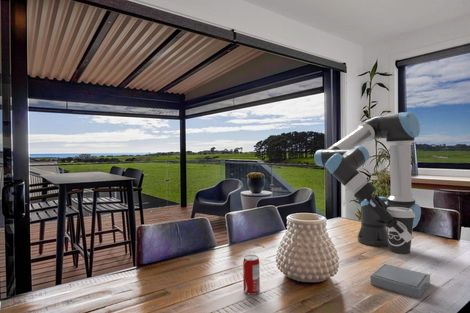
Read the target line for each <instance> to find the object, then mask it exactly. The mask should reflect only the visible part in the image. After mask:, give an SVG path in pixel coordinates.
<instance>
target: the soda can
mask: <svg viewBox="0 0 470 313" xmlns="http://www.w3.org/2000/svg"><path fill="white" fill-rule="evenodd" d="M259 259H260V258H259V256H258V255H256V254H246V255H244V257H243V262H242V265H243V266H242V268H243V269H242V273H243V274H242V275H243V276H242V277H243V278H242V279H243V292H244V291H245V292H246V293H249V294H254V295H256V294H255V293H257V294H258V293H259V292H260V290H261V285H260V284H261V282H260V279H261V278H260V273H261V272H260V260H259ZM245 292H244V293H245ZM246 293H245V294H246ZM249 294H248V295H249Z"/></svg>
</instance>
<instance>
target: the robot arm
mask: <svg viewBox="0 0 470 313" xmlns="http://www.w3.org/2000/svg"><path fill="white" fill-rule="evenodd" d="M420 127H421V126H420V122H419V119H418V118H417V116H416V114H414V112H410V111H409V112H408V111H407V112H396V113H389V114H388V113H387V114H386V113H385V114H379V115H375V116H372V117H371V118H369V119H367V120H364V121H363V122H362V123H360V124H359V125H358V126H356V129H355V130H353V131H352V132H350V133H348V135H346V136H344V137H343V138H341V139H340V140H338V141H337V142H335V143H334V144H332V145H331V146H329V147H328V148H326V149H324V148H322V149H318V150H316V151H315V153H314V154H313V159H314V163H315V164H316V165H317V167H318V166H319V167H324V168H326V170H328V172H329V173H330V174H331V176H333V177H334V178H335V179H336V180H337V181H338V182H340V183H341V184H342V186H344V188H345V191H349V192H350V193H351V194H353V196H354V198H355V199H356V200H358V201H359V202H360V216H361V217H360V223H361V224H360V229H359V231H358V234H357V241H358V242H359V243H361V244H363V245H367V246H371V247H386V246H389V245H388V234H387V225H388V228H391V227H392V228H393V229H394V230H395V231H396V232H397V233H398V234H399V235H400V236H401V237H402V238H403V239H404V240H405V241H406V242H409V241H410V240H411V241H412V239H414V235H413V234H412V235H411V234H410V233H409V232H408V231H407V230H406V229H405V228H404V227H403V226H402V225H401V224H400V223H399V222H397V221H396V220H395V219H394V218H393V217H392V216H391V215H390V214H389V213H388V211H387V210H386V209H387V208H388V207H403V208H409V209H412V210H413V213H414V214H415V217H414V219H413V228H412V232H413V231H414V230H413V229H414V228H415V227H417V226H418V224H419V221H420V219H421V215H422V209H421V205H420V204H418V203H416V199H415V198H414V197H413V195H412V151H411V150H412V148H411V146H412V144H413V143H414V142H415V138H417V137H419V135H420V132H421V128H420ZM376 139H386V142H385V143H387V144H388V145H389V157H390V158H389V159H390V160H389V161H390V165H389V167H390V171H389V172H390V176H389V177H390V195H389V196H388V197H386V196H378V195H377V194H375V195H374V193H375V191H376V190H377V188H376V186H374V185H373V183H371V182H369V181H368V179H367V178H366V177H365V176H364V175H363V174H362V173H361V172H359V171H358V169H359V168H361V167H362V166H363V165H365V164H366V162H367V161H368V160H369V159H370V153H369V150H368V149H367V148H366V147H365V146H364V144H365V143H369V142H371V141H373V140H376Z"/></svg>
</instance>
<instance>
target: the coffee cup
mask: <svg viewBox="0 0 470 313" xmlns="http://www.w3.org/2000/svg"><path fill="white" fill-rule="evenodd" d="M386 210H387V211H388V213H389V214H390V215H391V216H392V217H393V218H394V219H395V220H396V221H397V222H399V223H400V224H401V225H402V226H403V227H404V228H405V229H406V230H407V231H408V232H409V233H410V234H411V235H412V236H413V231H412V230H413V229H414V228H413V219H414V217H415V214H414V213H413V210H412V209H409V208H403V207H388V208H387V209H386ZM386 229H387V234H388V245H387V246H388V251H389V252H390V253H393V254H396V255H403V256H404V255H410V254H411V247H412V239H411V240H410V241H409V242H406V241H405V240H404V239H403V238H402V237H401V236H400V235H399V234H398V233H397V232H396V231H395V230H394V229H393V228H392V227H391V228H388V225H387V224H386Z"/></svg>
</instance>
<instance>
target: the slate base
mask: <svg viewBox="0 0 470 313" xmlns="http://www.w3.org/2000/svg"><path fill="white" fill-rule="evenodd" d="M430 284H431V274H428V273H424V272H420V271H416V270H412V269H407V268H403V267H399V266H395V265H391V264H387V263H384V264H383V265H382V266H380V267H379V268H378V269H377V270H376V271H374V272H373V273H372V274H371V275H370V285H372V286H376V287H378V288H381V289H386V290H388V291H391V292H396V293H399V294H402V295H405V296H409V297H413V298H415V299H419V300H420V299H421V298H422V296H423V294H424V293H425V292H426V290H427V289H428V287H429V286H430Z"/></svg>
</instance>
